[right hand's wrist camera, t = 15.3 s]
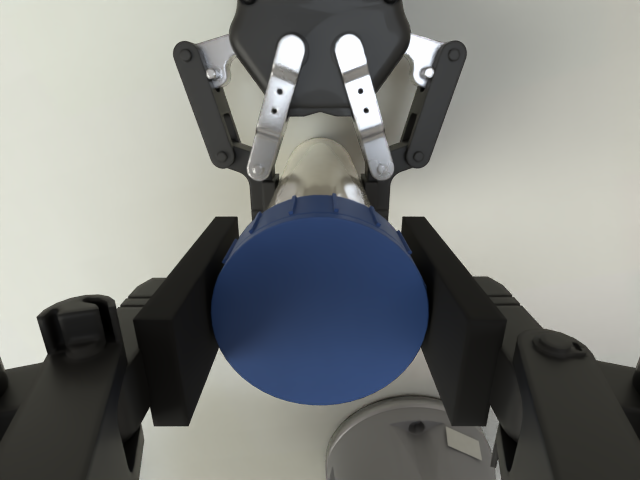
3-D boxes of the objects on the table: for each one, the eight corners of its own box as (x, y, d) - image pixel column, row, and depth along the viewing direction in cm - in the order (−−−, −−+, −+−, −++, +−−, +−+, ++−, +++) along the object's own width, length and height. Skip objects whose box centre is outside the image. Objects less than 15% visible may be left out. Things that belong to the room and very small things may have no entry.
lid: (281, 381, 13) (274, 432, 11) (191, 242, 11) (165, 274, 10) (438, 320, 12) (460, 363, 10) (368, 158, 11) (380, 174, 9)
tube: (305, 214, 29) (282, 403, 12) (275, 156, 27) (197, 274, 10) (363, 186, 28) (433, 346, 11) (336, 125, 27) (366, 197, 9)
